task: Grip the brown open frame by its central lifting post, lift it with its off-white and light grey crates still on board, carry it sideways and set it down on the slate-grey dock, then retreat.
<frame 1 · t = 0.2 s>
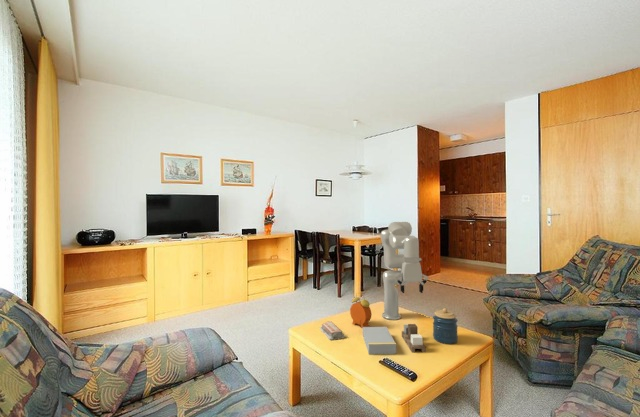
hand: (411, 292, 157), 30 cm above the table, tool pointing down, fingers open, 9 cm apart
dock: (378, 344, 162), on the table
brown open frame: (412, 344, 162), on the table, touching crate a
crate b: (409, 333, 168), point 3 cm above the table
alarm clock: (360, 325, 188), on the table
canister: (445, 339, 167), on the table
packaged product: (331, 334, 177), on the table
crate a: (416, 343, 155), point 3 cm above the table, touching brown open frame
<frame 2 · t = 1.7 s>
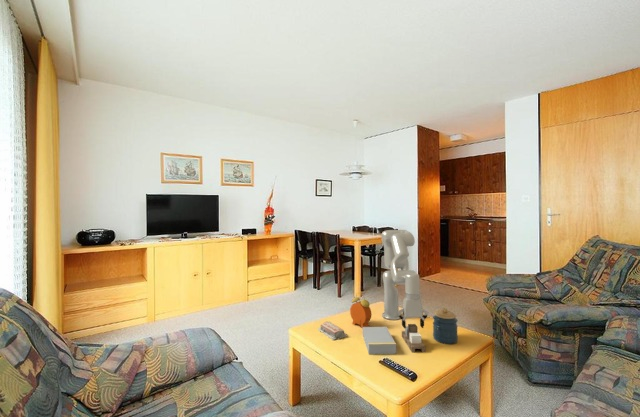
hand: (413, 327, 161), 9 cm above the table, tool pointing down, fingers open, 9 cm apart
brown open frame: (412, 344, 162), on the table, touching crate b
crate b: (410, 334, 166), point 3 cm above the table, touching brown open frame
crate a: (415, 341, 157), point 3 cm above the table
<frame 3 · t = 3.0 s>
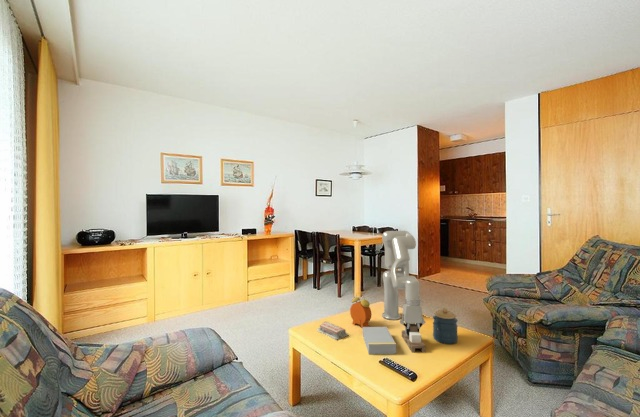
hand: (412, 334, 161), 5 cm above the table, tool pointing down, fingers closed on brown open frame, 4 cm apart
brown open frame: (412, 343, 162), on the table, touching crate a, crate b, gripper
crate a: (415, 341, 158), point 3 cm above the table, touching brown open frame
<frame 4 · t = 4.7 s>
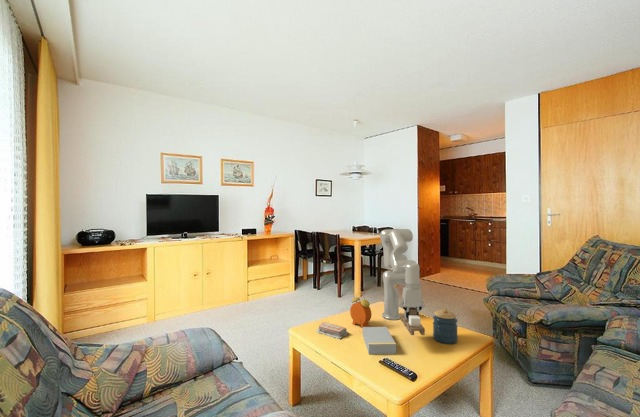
hand: (412, 318, 162), 14 cm above the table, tool pointing down, fingers closed on brown open frame, 4 cm apart
brown open frame: (412, 327, 162), point 9 cm above the table, touching crate a, crate b, gripper
crate b: (410, 318, 166), point 12 cm above the table, touching brown open frame
crate a: (414, 324, 158), point 12 cm above the table, touching brown open frame
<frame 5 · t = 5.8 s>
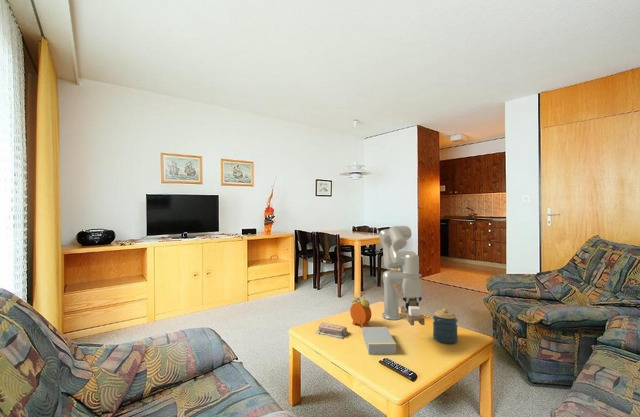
hand: (411, 309, 162), 19 cm above the table, tool pointing down, fingers closed on brown open frame, 4 cm apart
brown open frame: (412, 318, 162), point 14 cm above the table, touching crate a, crate b, gripper
crate b: (409, 309, 166), point 17 cm above the table, touching brown open frame
crate a: (414, 314, 158), point 17 cm above the table, touching brown open frame
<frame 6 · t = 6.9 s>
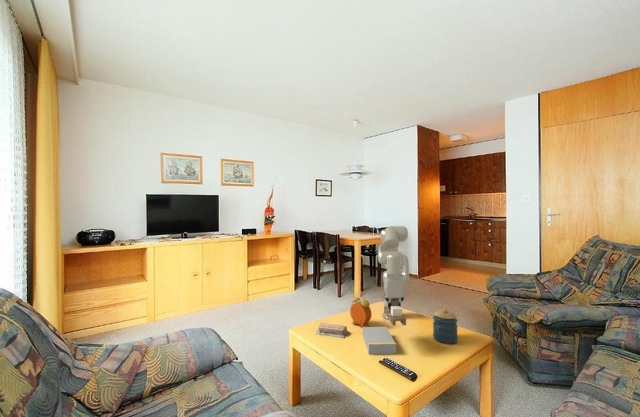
hand: (394, 309, 162), 19 cm above the table, tool pointing down, fingers closed on brown open frame, 4 cm apart
brown open frame: (394, 318, 162), point 14 cm above the table, touching crate a, crate b, gripper
crate b: (392, 309, 166), point 18 cm above the table, touching brown open frame
crate a: (396, 314, 158), point 18 cm above the table, touching brown open frame
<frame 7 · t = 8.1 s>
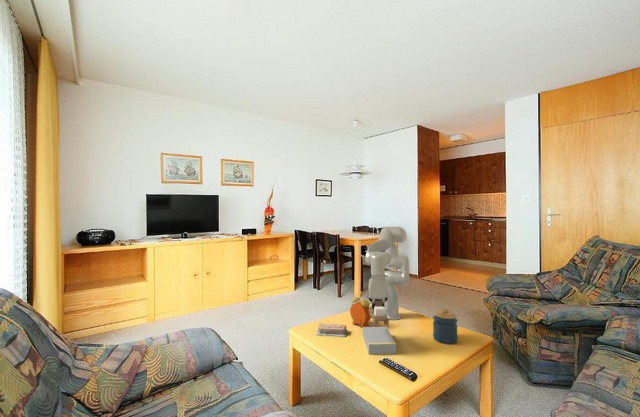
hand: (378, 309, 162), 19 cm above the table, tool pointing down, fingers closed on brown open frame, 4 cm apart
brown open frame: (378, 318, 162), point 14 cm above the table, touching crate a, crate b, gripper
crate b: (376, 309, 166), point 17 cm above the table, touching brown open frame
crate a: (379, 315, 158), point 17 cm above the table, touching brown open frame
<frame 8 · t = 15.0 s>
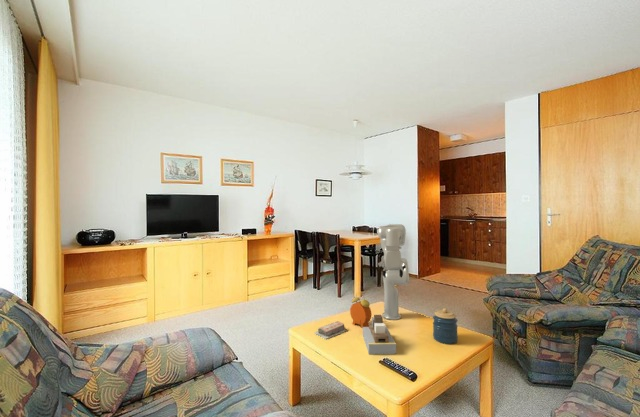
hand: (392, 277, 176), 33 cm above the table, tool pointing down, fingers open, 9 cm apart
brown open frame: (378, 334, 162), point 5 cm above the table, touching crate a, crate b, dock
crate b: (376, 325, 166), point 8 cm above the table, touching brown open frame
crate a: (379, 331, 158), point 8 cm above the table, touching brown open frame
at the end: brown open frame inside the target area on the dock (0.2 cm from its centre), point 5.0 cm above the dock's base; crate a inside the target area on the brown open frame (3.2 cm from its centre), point 3.4 cm above the brown open frame's base; crate b inside the target area on the brown open frame (3.2 cm from its centre), point 3.4 cm above the brown open frame's base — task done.
